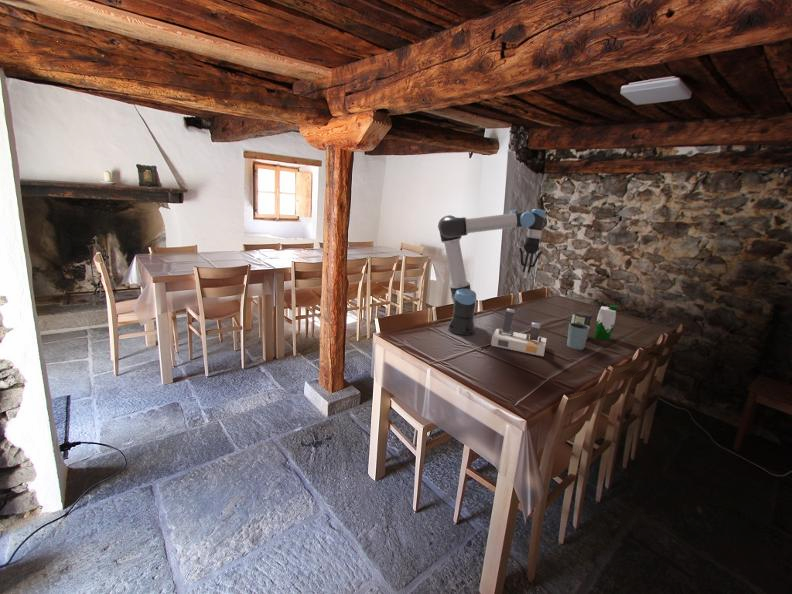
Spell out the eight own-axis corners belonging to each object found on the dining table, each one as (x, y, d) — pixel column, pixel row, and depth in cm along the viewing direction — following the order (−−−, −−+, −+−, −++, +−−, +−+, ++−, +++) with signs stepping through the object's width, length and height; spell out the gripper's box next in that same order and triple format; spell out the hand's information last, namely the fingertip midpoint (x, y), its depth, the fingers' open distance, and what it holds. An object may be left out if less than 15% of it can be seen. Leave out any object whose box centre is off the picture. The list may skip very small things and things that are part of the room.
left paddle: (502, 330, 203) (506, 307, 205) (502, 331, 205) (507, 308, 207) (510, 332, 202) (514, 309, 204) (510, 333, 204) (514, 310, 206)
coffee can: (584, 334, 229) (589, 311, 225) (589, 340, 219) (594, 316, 215) (566, 331, 231) (571, 309, 227) (570, 337, 221) (575, 314, 217)
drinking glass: (575, 351, 201) (580, 329, 198) (560, 343, 210) (564, 323, 207) (589, 349, 205) (594, 328, 202) (574, 342, 214) (578, 321, 211)
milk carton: (610, 341, 219) (617, 308, 214) (592, 338, 223) (599, 305, 218) (610, 337, 226) (618, 305, 221) (593, 334, 230) (600, 302, 225)
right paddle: (529, 339, 197) (531, 325, 188) (530, 335, 198) (532, 321, 189) (537, 341, 195) (539, 326, 186) (538, 337, 197) (540, 322, 187)
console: (490, 345, 200) (492, 332, 198) (495, 337, 213) (497, 324, 211) (543, 356, 191) (545, 342, 189) (544, 347, 203) (547, 334, 201)
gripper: (546, 238, 217) (537, 279, 223) (522, 235, 222) (514, 275, 228) (545, 239, 210) (536, 281, 216) (521, 235, 215) (512, 276, 221)
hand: (524, 278), depth 222 cm, fingers closed
